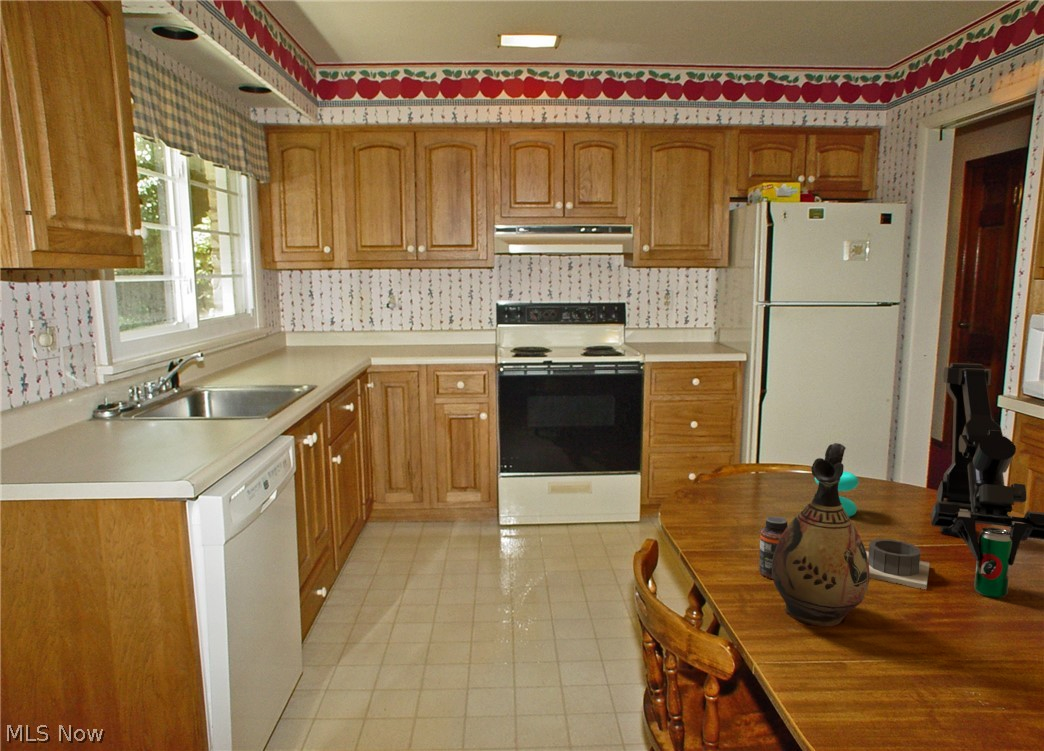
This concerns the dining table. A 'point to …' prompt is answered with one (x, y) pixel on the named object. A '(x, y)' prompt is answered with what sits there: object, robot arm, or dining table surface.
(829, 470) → the ceramic jug
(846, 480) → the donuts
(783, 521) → the supplement bottle
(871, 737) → the dining table surface
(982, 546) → the soda can
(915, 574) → the collar socket
